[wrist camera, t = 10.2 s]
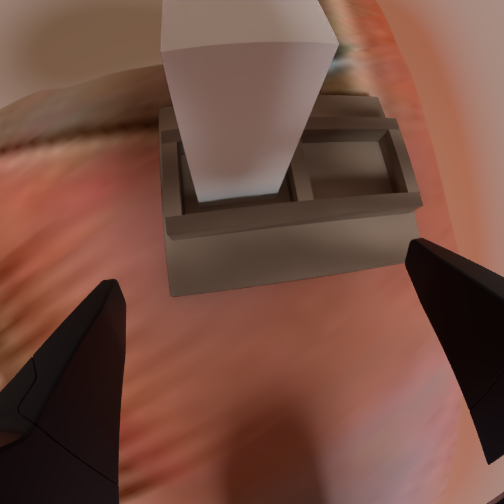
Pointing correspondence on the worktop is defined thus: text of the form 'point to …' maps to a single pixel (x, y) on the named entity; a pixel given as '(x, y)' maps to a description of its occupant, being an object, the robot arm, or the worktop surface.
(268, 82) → the clay block
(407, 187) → the rack
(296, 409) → the worktop surface
